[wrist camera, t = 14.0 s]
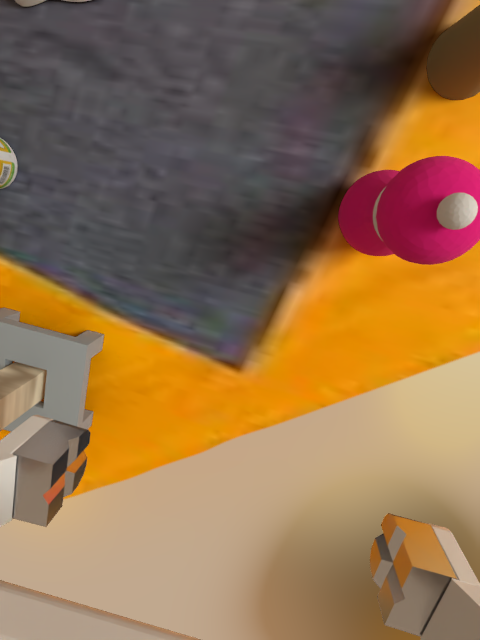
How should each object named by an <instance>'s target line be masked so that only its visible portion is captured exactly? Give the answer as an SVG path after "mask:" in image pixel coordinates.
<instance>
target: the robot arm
mask: <svg viewBox="0 0 480 640" xmlns="http://www.w3.org/2000/svg"><path fill="white" fill-rule="evenodd" d="M15 1H16V2H17V3H18V4H19V5H21V6H24V7H28V6H33V5H36V4H39V3H42V2H44V1H47V0H15ZM63 1H70V2H84V1H90V0H63ZM89 440H90V432H89V430H87V429H84V428H80V427H77V426H74V425H71V424H67V423H64V422H61V421H57V420H53V419H50V418H47V417H43V416H40V415H33V416H31V417H30V418H28V419H27V420H26V421H25V422H23V423H22V424H21V425H19V426H18V427H17V428H16V429H14V430H13V431H12V432H10V433H9V434H8V435H7V436H5V437H4V438H3V439H2V440H0V527H1V526H2V525H4V524H6V523H8V522H10V521H11V520H12V518H13V519H17V520H21V521H25V522H29V523H33V524H37V525H40V526H45V527H47V525H48V524H49V523H50V521H51V520H52V518H53V517H54V516H55V515H56V514H57V512H58V511H59V510H60V508H61V507H62V502H63V497H65V496H67V495H70V494H72V493H73V491H74V490H75V489H76V487H77V486H78V484H79V482H80V480H81V478H82V476H83V474H84V471H85V467H86V462H87V456H86V454H85V452H84V449H85V448H86V447H87V446H88V444H89ZM381 526H382V530H383V534H382V535H380V536H378V537H376V538H375V540H374V543H373V545H372V548H371V555H370V567H371V573H372V577H373V580H374V581H375V582H376V584H377V585H378V586H379V587H380V592H379V594H378V596H377V597H378V601H379V605H380V609H381V613H382V616H383V621H384V624H385V625H387V626H390V627H393V628H396V629H399V630H402V631H405V632H408V633H411V634H414V635H417V636H421V640H480V584H479V582H478V580H477V578H476V576H475V574H474V573H473V571H472V569H471V567H470V565H469V563H468V562H467V560H466V558H465V556H464V554H463V553H462V551H461V549H460V547H459V545H458V543H457V541H456V539H455V538H454V536H453V534H452V532H451V531H450V530H448V529H447V528H445V527H441V526H437V525H433V524H429V523H422V522H419V521H415V520H412V519H408V518H404V517H401V516H397V515H393V514H390V513H388V514H387V515H386V516H385V517H384V519H383V522H382V524H381ZM0 640H200V639H197V638H193V637H190V636H187V635H183V634H180V633H177V632H173V631H170V630H166V629H163V628H160V627H156V626H153V625H150V624H146V623H143V622H139V621H136V620H132V619H129V618H126V617H123V616H119V615H116V614H112V613H109V612H106V611H102V610H99V609H96V608H92V607H89V606H86V605H82V604H79V603H75V602H72V601H68V600H66V599H62V598H59V597H55V596H52V595H49V594H45V593H42V592H39V591H35V590H32V589H28V588H25V587H21V586H18V585H15V584H11V583H8V582H5V581H2V580H0Z"/></svg>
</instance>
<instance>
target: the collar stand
mask: <svg viewBox="0 0 480 640" xmlns="http://www.w3.org/2000/svg"><path fill="white" fill-rule="evenodd" d="M19 318H20V312H18V311H15V310H11V309H7V308H1V309H0V370H1V369H3V368H5V367H7V366H9V365H10V364H12V361H15V362H18V363H22V364H26V365H29V366H33V367H37V368H40V369H44V370H47V375H46V386H45V396H44V402H42V401H39V402H38V403H37V404H35V405H34V406H33V407H31V408H30V409H29V410H28V411H26V412H25V413H24V414H22V415H21V416H20V417H18V418H17V419H16V420H14V421H13V422H12V423H10V424H9V425H8V426H6V427H5V428H4V430H8V431H11V432H12V431H13V430H14V429H16V428H17V427H18V426H19V425H21V424H22V423H23V422H25V421H26V420H27V419H28V418H30V417H31V416H33V415H40V416H43V417H47V418H50V419H53V420H57V421H61V422H64V423H67V424H71V425H74V426H77V427H80V428H84V429H87V430H88V428H89V427H90V426H91V424H92V417H93V411H89V410H86V409H84V407H85V399H86V391H87V384H88V376H89V369H90V361H91V358H92V357H93V356H94V355H96V354H97V353H99V352H100V351H101V350H102V346H103V339H104V334H101V333H97V332H93V331H89V330H87V331H85V332H84V333H82V334H80V335H78V336H77V337H74V336H70V335H66V334H62V333H59V332H55V331H51V330H48V329H44V328H40V327H36V326H33V325H29V324H25V323H21V322H19Z"/></svg>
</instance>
